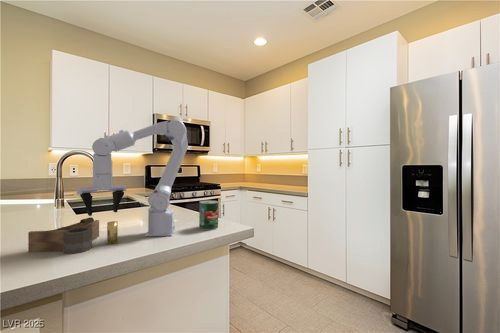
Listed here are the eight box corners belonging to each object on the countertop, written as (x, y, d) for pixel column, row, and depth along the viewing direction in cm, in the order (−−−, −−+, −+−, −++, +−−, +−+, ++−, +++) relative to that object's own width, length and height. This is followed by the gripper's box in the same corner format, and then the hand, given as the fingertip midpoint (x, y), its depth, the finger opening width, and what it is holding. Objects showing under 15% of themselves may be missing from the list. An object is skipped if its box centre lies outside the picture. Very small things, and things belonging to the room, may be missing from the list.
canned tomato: (205, 224, 106) (205, 199, 106) (221, 226, 103) (221, 200, 103) (195, 229, 99) (195, 202, 98) (212, 231, 96) (212, 203, 96)
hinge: (108, 236, 88) (108, 219, 88) (84, 253, 71) (84, 233, 71) (57, 237, 85) (57, 221, 85) (20, 256, 69) (20, 235, 69)
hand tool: (54, 242, 81) (54, 228, 81) (45, 241, 82) (45, 227, 82) (100, 227, 100) (100, 216, 100) (91, 227, 101) (91, 216, 101)
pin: (118, 241, 82) (118, 221, 82) (115, 244, 79) (115, 223, 79) (109, 241, 82) (109, 221, 82) (105, 244, 79) (105, 223, 79)
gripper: (121, 173, 90) (121, 208, 90) (74, 174, 80) (74, 215, 80) (128, 173, 85) (128, 211, 85) (79, 175, 75) (79, 218, 75)
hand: (103, 213), depth 82 cm, fingers open, 7 cm apart
